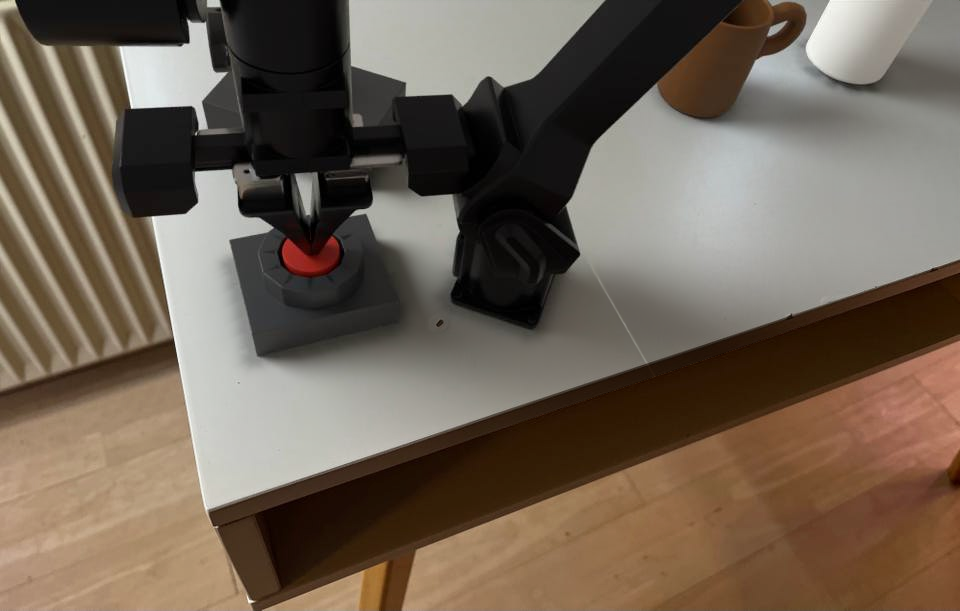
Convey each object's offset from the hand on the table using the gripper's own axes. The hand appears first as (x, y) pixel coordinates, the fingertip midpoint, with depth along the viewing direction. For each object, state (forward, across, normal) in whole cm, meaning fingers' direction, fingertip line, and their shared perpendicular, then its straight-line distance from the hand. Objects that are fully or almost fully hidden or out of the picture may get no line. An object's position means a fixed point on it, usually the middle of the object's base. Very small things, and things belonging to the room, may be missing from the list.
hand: (311, 249), depth 48 cm
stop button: (+2, 0, 0) cm, 2 cm away
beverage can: (+5, -55, -23) cm, 59 cm away
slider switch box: (+5, -1, -17) cm, 17 cm away
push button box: (+5, 0, 0) cm, 5 cm away
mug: (+5, -39, -19) cm, 43 cm away
